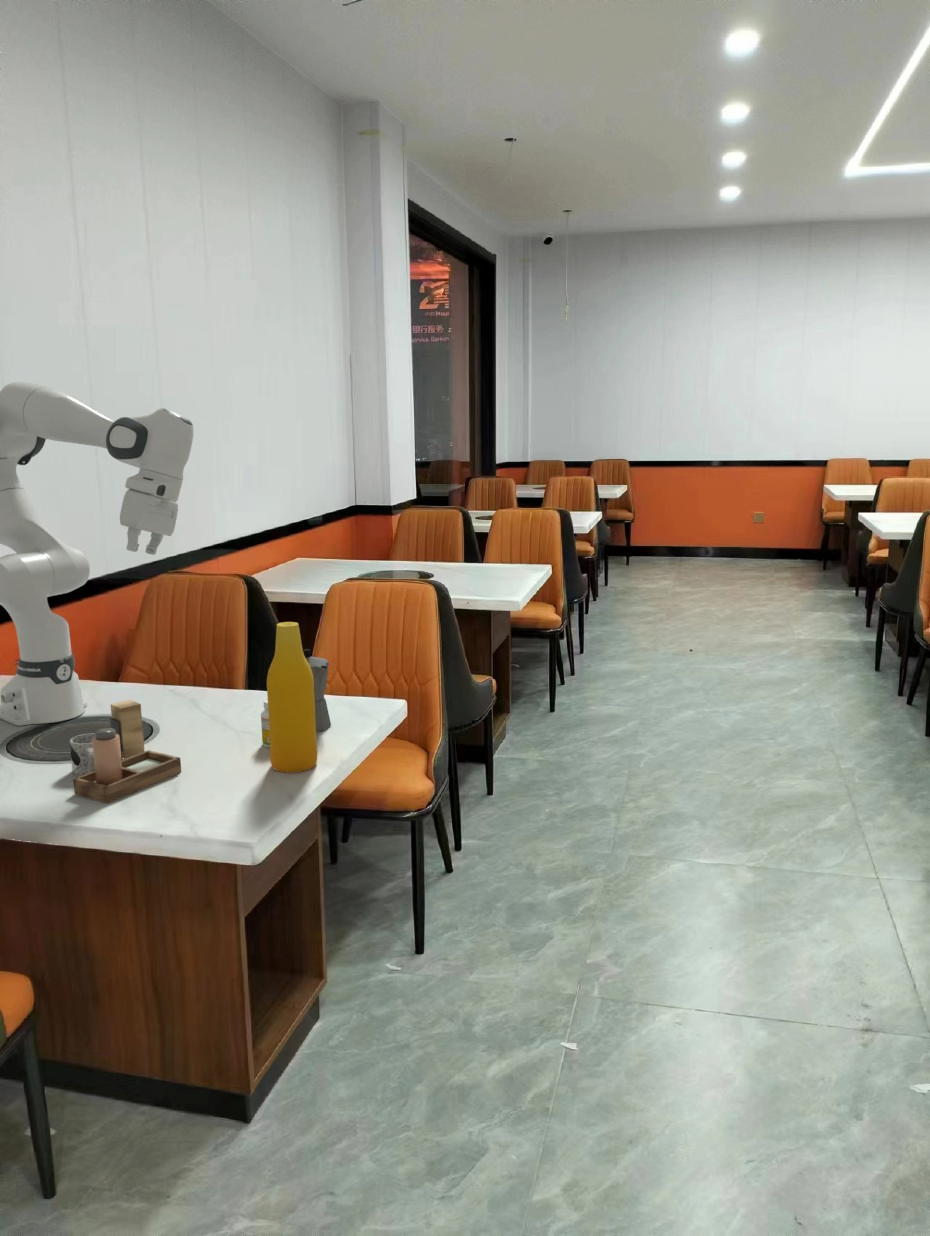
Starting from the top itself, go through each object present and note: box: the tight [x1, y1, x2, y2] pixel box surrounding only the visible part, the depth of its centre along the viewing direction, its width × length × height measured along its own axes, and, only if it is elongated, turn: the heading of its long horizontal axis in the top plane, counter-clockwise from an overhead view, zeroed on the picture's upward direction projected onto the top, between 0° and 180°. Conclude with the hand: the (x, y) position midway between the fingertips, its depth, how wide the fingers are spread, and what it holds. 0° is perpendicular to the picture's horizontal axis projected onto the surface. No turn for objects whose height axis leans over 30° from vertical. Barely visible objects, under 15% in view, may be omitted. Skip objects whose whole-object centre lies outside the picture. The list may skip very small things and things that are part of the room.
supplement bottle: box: [260, 698, 270, 748], centre depth 211 cm, size 5×5×10 cm
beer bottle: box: [266, 621, 318, 773], centre depth 196 cm, size 9×9×29 cm
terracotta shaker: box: [92, 727, 123, 786], centre depth 185 cm, size 5×5×10 cm
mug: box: [69, 732, 95, 777], centre depth 195 cm, size 10×7×7 cm, turn 24°
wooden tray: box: [72, 749, 182, 804], centre depth 190 cm, size 9×18×3 cm, turn 149°
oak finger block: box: [109, 699, 145, 760], centre depth 205 cm, size 4×5×11 cm
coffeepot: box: [303, 648, 332, 733], centre depth 222 cm, size 15×9×18 cm, turn 49°
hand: (141, 552), depth 206 cm, fingers open, 8 cm apart
